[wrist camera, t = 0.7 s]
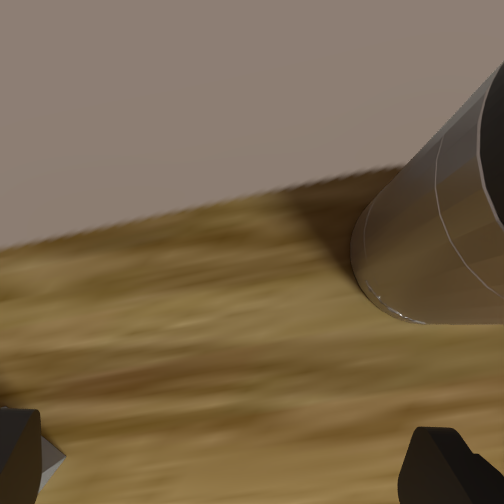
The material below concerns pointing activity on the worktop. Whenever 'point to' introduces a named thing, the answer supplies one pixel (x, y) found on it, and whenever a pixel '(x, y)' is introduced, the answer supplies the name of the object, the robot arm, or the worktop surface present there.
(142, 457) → the worktop surface
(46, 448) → the grey-blue square bottle
